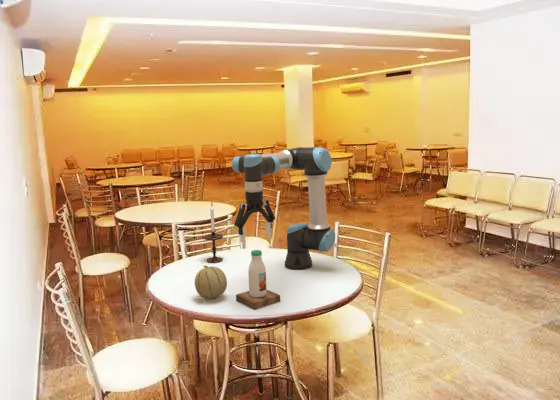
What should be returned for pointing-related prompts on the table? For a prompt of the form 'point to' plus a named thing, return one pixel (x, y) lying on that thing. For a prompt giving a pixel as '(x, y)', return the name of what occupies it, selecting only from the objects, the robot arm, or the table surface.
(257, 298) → the block
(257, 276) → the milk bottle
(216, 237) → the candlestick
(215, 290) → the cantaloupe
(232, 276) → the table surface
